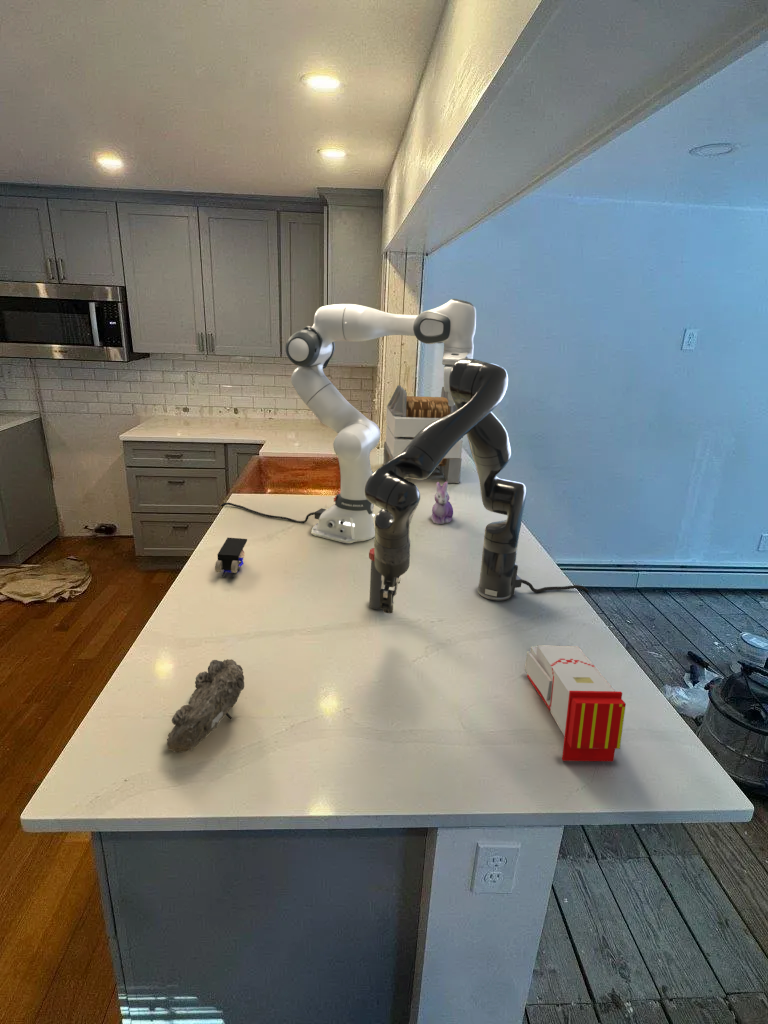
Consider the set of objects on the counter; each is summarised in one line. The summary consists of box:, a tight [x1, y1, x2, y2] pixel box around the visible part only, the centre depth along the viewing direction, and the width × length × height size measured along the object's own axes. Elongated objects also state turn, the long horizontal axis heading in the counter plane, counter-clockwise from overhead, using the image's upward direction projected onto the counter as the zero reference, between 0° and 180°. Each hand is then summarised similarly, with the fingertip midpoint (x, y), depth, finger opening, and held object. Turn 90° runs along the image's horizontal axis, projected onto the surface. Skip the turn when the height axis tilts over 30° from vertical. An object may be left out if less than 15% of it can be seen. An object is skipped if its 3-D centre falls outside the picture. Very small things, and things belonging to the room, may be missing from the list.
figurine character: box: [214, 537, 248, 578], centre depth 166 cm, size 7×8×15 cm
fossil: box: [166, 658, 245, 754], centre depth 106 cm, size 22×10×15 cm
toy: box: [524, 644, 626, 762], centre depth 112 cm, size 12×13×30 cm
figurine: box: [430, 480, 454, 525], centre depth 212 cm, size 9×10×15 cm
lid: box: [368, 547, 375, 561], centre depth 146 cm, size 6×6×2 cm
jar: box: [368, 559, 385, 610], centre depth 149 cm, size 4×4×15 cm
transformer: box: [382, 384, 464, 484], centre depth 268 cm, size 34×33×41 cm
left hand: (454, 403), depth 174 cm, fingers open, 8 cm apart
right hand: (391, 596), depth 130 cm, fingers open, 8 cm apart
